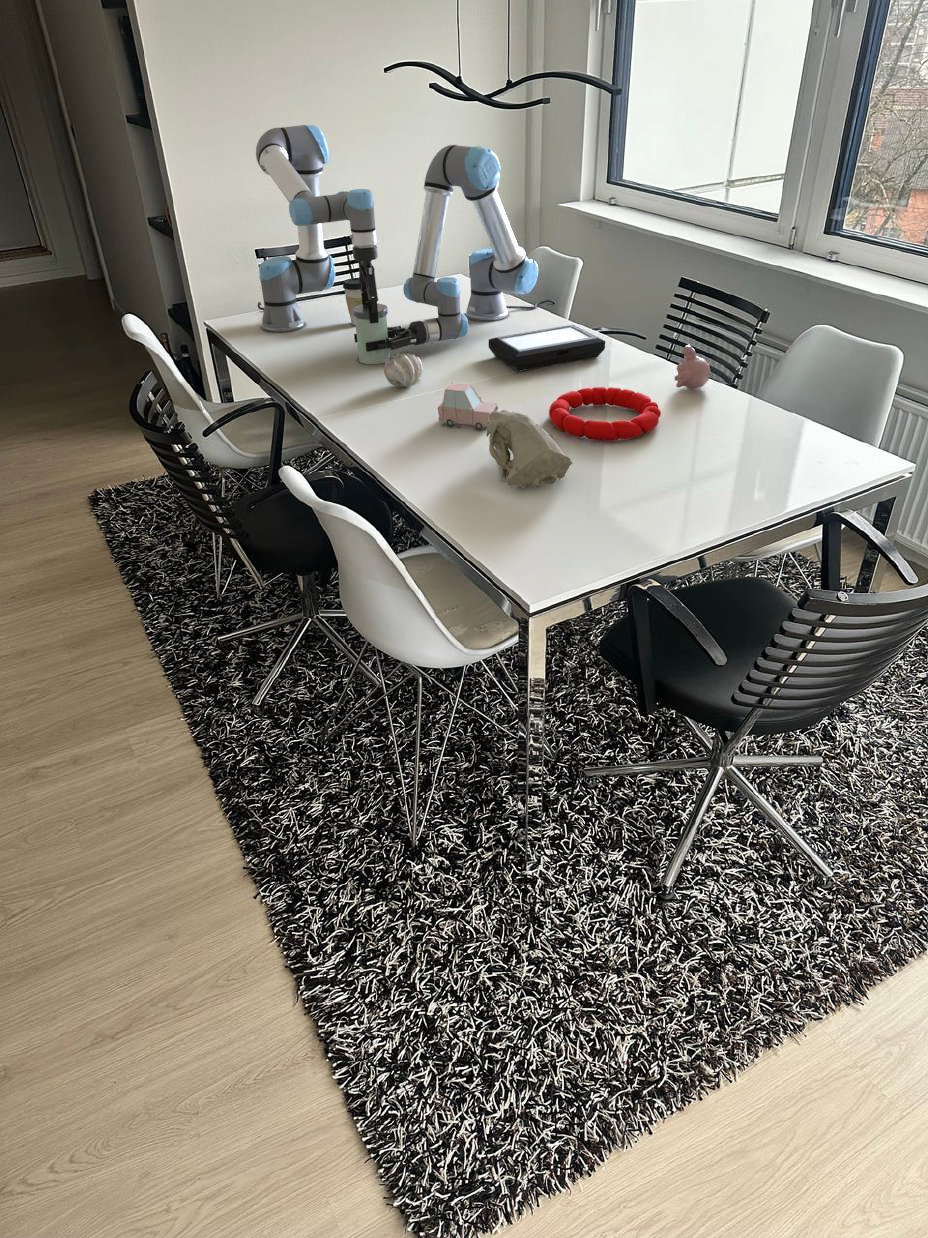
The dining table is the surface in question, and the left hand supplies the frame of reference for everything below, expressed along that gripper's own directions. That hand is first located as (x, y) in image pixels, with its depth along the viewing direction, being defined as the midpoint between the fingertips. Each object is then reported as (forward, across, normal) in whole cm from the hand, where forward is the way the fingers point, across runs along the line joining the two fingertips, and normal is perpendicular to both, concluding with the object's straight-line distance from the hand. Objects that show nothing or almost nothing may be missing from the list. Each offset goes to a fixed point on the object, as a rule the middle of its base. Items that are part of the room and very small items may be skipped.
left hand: (370, 317), depth 286 cm
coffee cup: (+13, -42, +3) cm, 44 cm away
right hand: (+7, +1, -4) cm, 8 cm away
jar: (+13, 0, 0) cm, 13 cm away
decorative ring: (+13, +75, +49) cm, 91 cm away
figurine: (+13, +60, +83) cm, 104 cm away
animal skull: (+13, +97, +18) cm, 99 cm away
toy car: (+13, +63, +14) cm, 66 cm away
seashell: (+13, +29, +4) cm, 32 cm away
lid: (-3, 0, 0) cm, 3 cm away
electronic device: (+13, +18, +53) cm, 58 cm away
